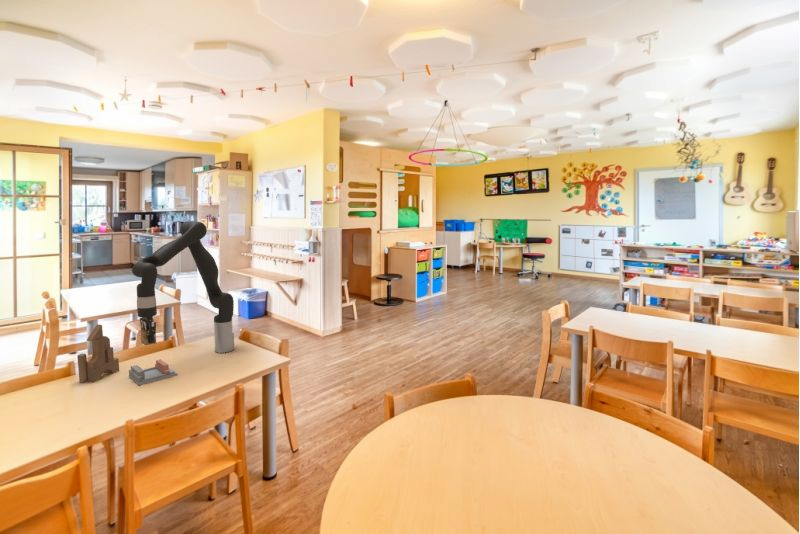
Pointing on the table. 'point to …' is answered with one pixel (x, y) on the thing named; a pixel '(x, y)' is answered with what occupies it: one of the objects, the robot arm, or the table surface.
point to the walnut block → (146, 337)
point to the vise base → (148, 374)
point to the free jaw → (162, 366)
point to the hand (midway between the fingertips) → (148, 341)
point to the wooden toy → (97, 358)
